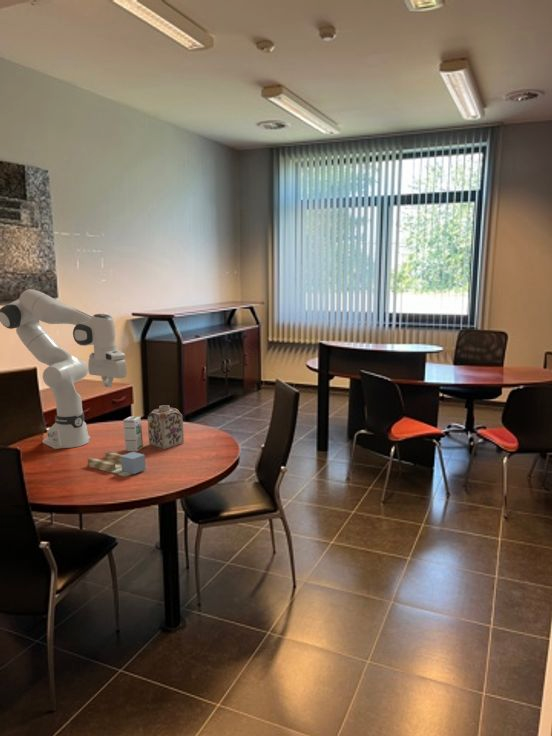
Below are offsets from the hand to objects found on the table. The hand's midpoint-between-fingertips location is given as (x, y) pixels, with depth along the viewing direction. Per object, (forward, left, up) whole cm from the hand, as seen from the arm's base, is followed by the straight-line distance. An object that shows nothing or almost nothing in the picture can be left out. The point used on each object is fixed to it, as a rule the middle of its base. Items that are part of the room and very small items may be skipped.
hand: (108, 386), depth 221 cm
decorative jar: (+5, +26, -31) cm, 41 cm away
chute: (+9, -6, -31) cm, 33 cm away
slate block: (+19, -6, -31) cm, 37 cm away
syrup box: (-2, +13, -31) cm, 34 cm away
